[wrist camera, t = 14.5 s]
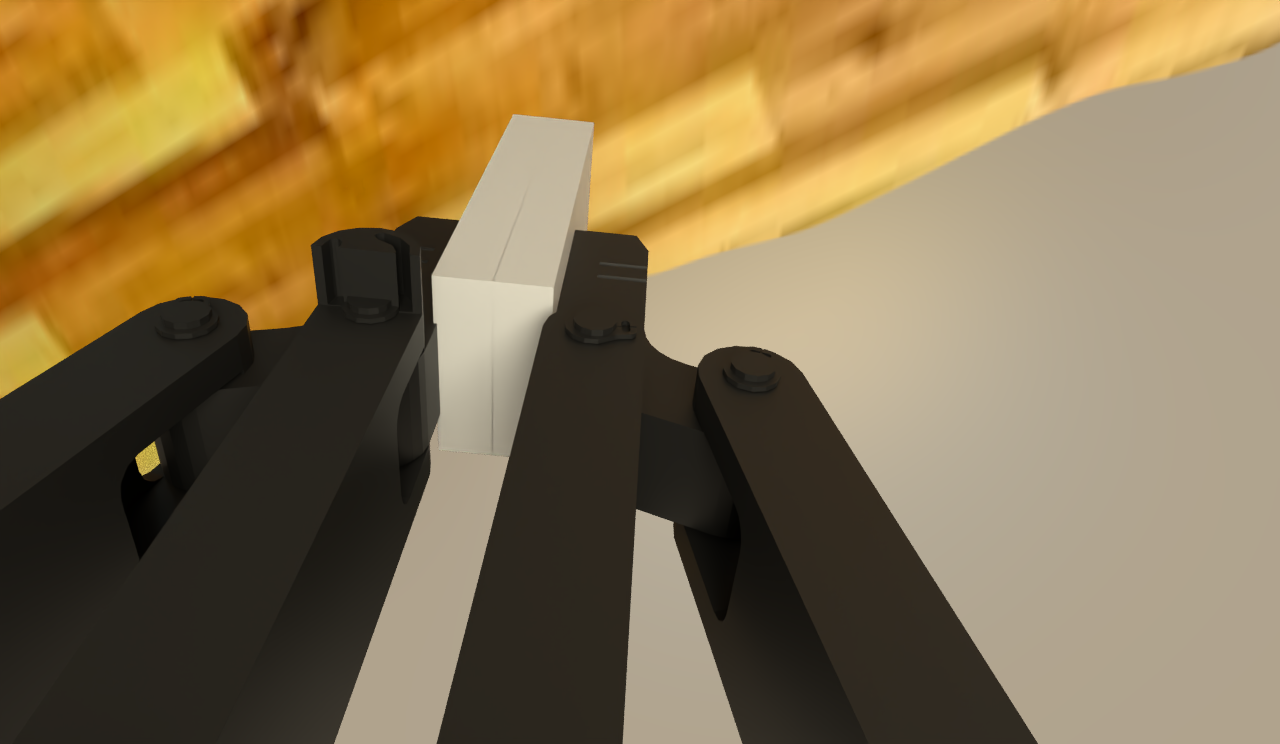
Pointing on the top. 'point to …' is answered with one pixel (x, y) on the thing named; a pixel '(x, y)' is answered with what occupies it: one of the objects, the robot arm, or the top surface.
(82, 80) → the top surface
